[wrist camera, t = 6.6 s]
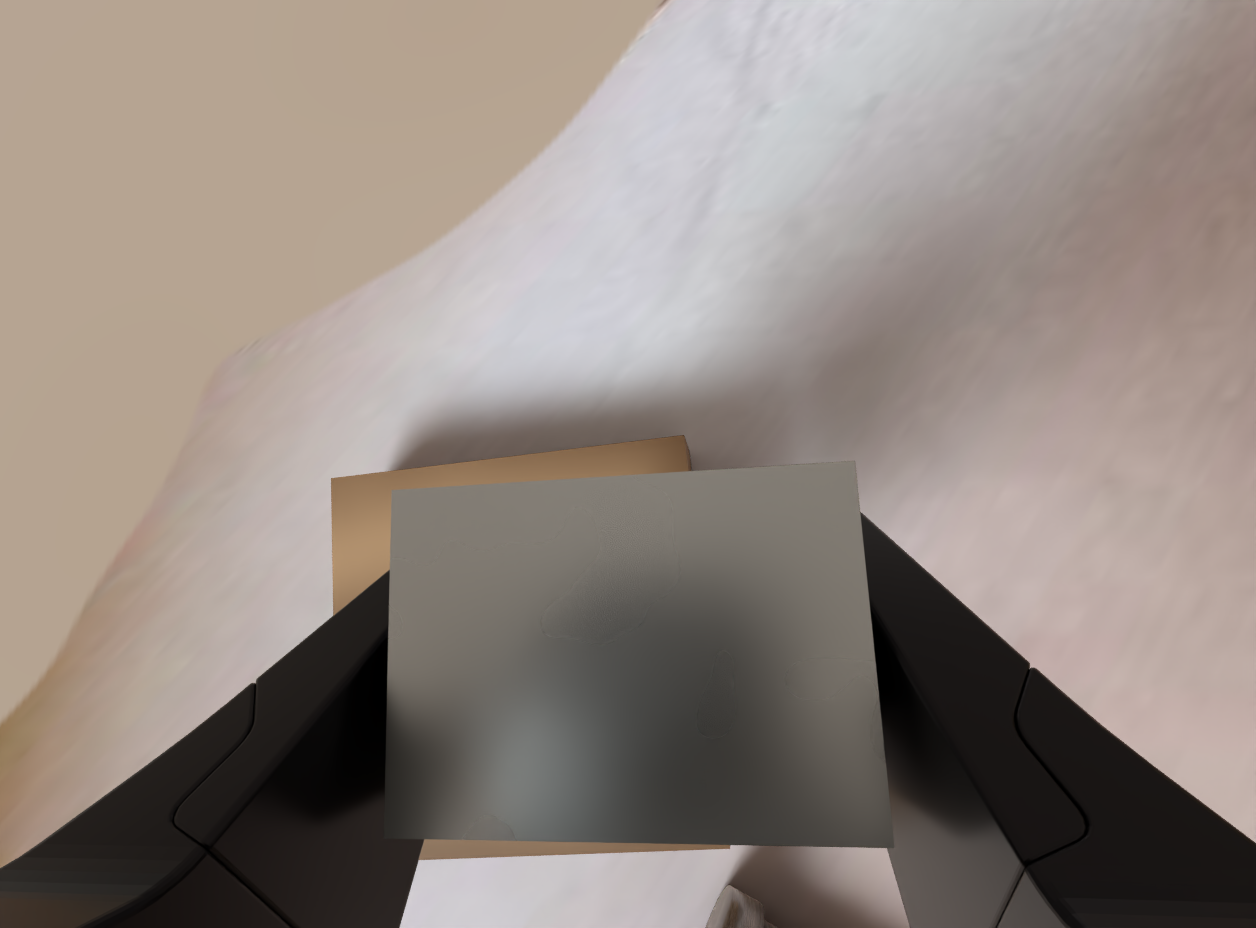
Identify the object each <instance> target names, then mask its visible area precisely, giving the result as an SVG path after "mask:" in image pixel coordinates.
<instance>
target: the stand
mask: <svg viewBox="0 0 1256 928" xmlns="http://www.w3.org/2000/svg"><path fill="white" fill-rule="evenodd" d="M685 471H691V462H690V454H689V449H688V446H687V443H686V440H685V437H684V435H681V436H672V437H664V438H656V439H648V440H640V441H632V442H624V443H615V444H607V445H599V446H591V447H583V448H575V449H567V450H558V451H550V452H542V453H534V454H526V455H518V456H510V457H501V458H493V459H485V460H477V461H469V462H461V463H453V464H444V465H436V466H428V467H420V468H412V469H404V470H395V471H387V472H379V473H371V474H363V475H355V476H347V477H338V478H331V502H332V561H333V616H334V615H335V614H336V613H337V612H339V611H340V610H341V609H342V608H343V607H345V606H346V605H347V604H348V603H349V602H351V601H352V600H353V599H354V598H355V597H357V596H358V595H359V594H360V593H362V592H363V591H364V590H365V589H366V588H368V587H369V586H370V585H371V584H372V583H374V582H375V581H376V580H377V579H379V578H380V577H381V576H382V575H383V574H385V573H386V572H387V571H388V570H389V569H390V538H391V493H392V490H400V489H416V488H432V487H447V486H463V485H479V484H495V483H511V482H527V481H543V480H558V479H574V478H590V477H606V476H622V475H638V474H654V473H669V472H685ZM705 849H730V845H706V844H652V843H599V842H545V841H492V840H438V839H424V843H423V846H422V850H421V853H420V857H419V860H431V859H459V858H486V857H513V856H541V855H568V854H595V853H623V852H650V851H677V850H705Z"/></svg>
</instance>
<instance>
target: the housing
mask: <svg viewBox="0 0 1256 928" xmlns="http://www.w3.org/2000/svg"><path fill="white" fill-rule="evenodd" d="M384 838H385V839H438V840H492V841H545V842H599V843H652V844H706V845H759V846H813V847H866V848H895V847H894V838H893V828H892V818H891V808H890V799H889V789H888V779H887V769H886V759H885V750H884V740H883V730H882V720H881V711H880V701H879V691H878V681H877V672H876V662H875V652H874V642H873V632H872V623H871V613H870V603H869V593H868V584H867V574H866V564H865V554H864V545H863V535H862V525H861V515H860V505H859V496H858V486H857V476H856V466H855V461H844V462H828V463H812V464H796V465H780V466H765V467H749V468H733V469H717V470H701V471H685V472H669V473H654V474H638V475H622V476H606V477H590V478H574V479H558V480H543V481H527V482H511V483H495V484H479V485H463V486H447V487H432V488H416V489H400V490H392V493H391V538H390V583H389V628H388V673H387V718H386V763H385V808H384Z"/></svg>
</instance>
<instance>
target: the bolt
mask: <svg viewBox="0 0 1256 928" xmlns="http://www.w3.org/2000/svg"><path fill="white" fill-rule="evenodd" d="M705 928H778V927H776V926H774V925H773V924H771V923H769V922H767V921H765V920H764V908H763V905H762V903H761V902H759V901H757V900H755V899H754V898H752V897H750V896H748V895H746V894H745V893H743V892H741V891H739V890H738V889H736V888H734V887H732V886H730V885H728V886H727V887H726V888H725V889H724V890H723V892H722V893H721V895H720V896H719V898H718V900H717V902H716V904H715V906H714V908H713V910H712V913H711V915H710V917H709V920H708V922H707V925H706V927H705Z"/></svg>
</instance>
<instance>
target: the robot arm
mask: <svg viewBox="0 0 1256 928" xmlns="http://www.w3.org/2000/svg"><path fill="white" fill-rule="evenodd" d="M860 515H861V525H862V535H863V545H864V554H865V564H866V574H867V584H868V593H869V603H870V613H871V623H872V632H873V642H874V652H875V662H876V672H877V681H878V691H879V701H880V711H881V720H882V730H883V740H884V750H885V759H886V769H887V779H888V789H889V799H890V808H891V818H892V828H893V838H894V847H895V848H887V850H888V853H889V857H890V860H891V863H892V867H893V870H894V874H895V877H896V881H897V884H898V888H899V891H900V894H901V898H902V901H903V905H904V908H905V912H906V915H907V918H908V922H909V925H910V928H1256V843H1255V842H1254V841H1252V840H1251V839H1250V838H1248V837H1247V836H1246V835H1244V834H1243V833H1242V832H1240V831H1239V830H1238V829H1236V828H1235V827H1234V826H1233V825H1231V824H1230V823H1229V822H1227V821H1226V820H1225V819H1223V818H1222V817H1221V816H1219V815H1218V814H1217V813H1215V812H1214V811H1213V810H1211V809H1210V808H1209V807H1207V806H1206V805H1205V804H1203V803H1202V802H1201V801H1199V800H1198V799H1197V798H1195V797H1194V796H1193V795H1191V794H1190V793H1189V792H1187V791H1186V790H1185V789H1183V788H1182V787H1181V786H1180V785H1178V784H1177V783H1176V782H1174V781H1173V780H1172V779H1170V778H1169V777H1168V776H1166V775H1165V774H1164V773H1162V772H1161V771H1160V770H1158V769H1157V768H1156V767H1154V766H1153V765H1152V764H1151V763H1149V762H1148V761H1147V760H1145V759H1144V758H1143V757H1142V756H1140V755H1139V754H1138V753H1136V752H1135V751H1134V750H1133V749H1131V748H1130V747H1129V746H1128V745H1126V744H1125V743H1124V742H1122V741H1121V740H1120V739H1119V738H1117V737H1116V736H1115V735H1114V734H1112V733H1111V732H1110V731H1108V730H1107V729H1106V728H1105V727H1103V726H1102V725H1101V724H1100V723H1099V722H1097V721H1096V720H1095V719H1094V718H1093V717H1092V716H1090V715H1089V714H1088V713H1087V712H1086V711H1085V710H1083V709H1082V708H1081V707H1080V706H1079V705H1077V704H1076V703H1075V702H1074V701H1073V700H1072V699H1070V698H1069V697H1068V696H1067V695H1066V694H1065V693H1063V692H1062V691H1061V690H1060V689H1059V688H1058V687H1057V686H1055V685H1054V684H1053V683H1052V682H1051V681H1050V680H1049V679H1048V678H1046V677H1045V676H1044V675H1043V674H1042V673H1041V672H1040V671H1039V670H1037V669H1036V668H1030V663H1029V662H1028V661H1027V660H1026V659H1025V658H1024V657H1023V656H1021V655H1020V654H1019V653H1018V652H1017V651H1016V650H1015V649H1014V648H1012V647H1011V646H1010V645H1009V644H1008V643H1007V642H1006V641H1005V640H1004V639H1002V638H1001V637H1000V636H999V635H998V634H997V633H996V632H995V631H993V630H992V629H991V628H990V627H989V626H988V625H987V624H986V623H984V622H983V621H982V620H981V619H980V618H979V617H978V616H977V615H976V614H974V613H973V612H972V611H971V610H970V609H969V608H968V607H967V606H965V605H964V604H963V603H962V602H961V601H960V600H959V599H958V598H956V597H955V596H954V595H953V594H952V593H951V592H950V591H949V590H948V589H946V588H945V587H944V586H943V585H942V584H941V583H940V582H939V581H937V580H936V579H935V578H934V577H933V576H932V575H931V574H930V573H928V572H927V571H926V570H925V569H924V568H923V567H922V566H921V565H920V564H918V563H917V562H916V561H915V560H914V559H913V558H912V557H911V556H909V555H908V554H907V553H906V552H905V551H904V550H903V549H902V548H900V547H899V546H898V545H897V544H896V543H895V542H894V541H893V540H892V539H890V538H889V537H888V536H887V535H886V534H885V533H884V532H883V531H881V530H880V529H879V528H878V527H877V526H876V525H875V524H874V523H872V522H871V521H870V520H869V519H868V518H867V517H866V516H865V515H864V514H862V513H861V512H860ZM389 583H390V569H389V570H388V571H387V572H386V573H385V574H383V575H382V576H381V577H380V578H379V579H377V580H376V581H375V582H374V583H372V584H371V585H370V586H369V587H368V588H366V589H365V590H364V591H363V592H362V593H360V594H359V595H358V596H357V597H355V598H354V599H353V600H352V601H351V602H349V603H348V604H347V605H346V606H345V607H343V608H342V609H341V610H340V611H339V612H337V613H336V614H335V615H334V616H332V617H331V618H330V619H329V620H328V621H326V622H325V623H324V624H323V625H322V626H320V627H319V628H318V629H317V630H316V631H314V632H313V633H312V634H311V635H309V636H308V637H307V638H306V639H305V640H303V641H302V642H301V643H300V644H299V645H297V646H296V647H295V648H294V649H292V650H291V651H290V652H289V653H288V654H286V655H285V656H284V657H283V658H282V659H280V660H279V661H278V662H277V663H275V664H274V665H273V666H272V667H271V668H269V669H268V670H267V671H266V672H265V673H263V674H262V675H261V676H260V677H258V678H257V680H256V683H251V684H250V685H249V686H247V687H246V688H245V689H244V690H243V691H241V692H240V693H239V694H238V695H236V696H235V697H234V698H233V699H232V700H230V701H229V702H228V703H227V704H225V705H224V706H223V707H222V708H220V709H219V710H218V711H217V712H215V713H214V714H213V715H212V716H210V717H209V718H208V719H207V720H205V721H204V722H203V723H202V724H200V725H199V726H198V727H197V728H195V729H194V730H193V731H192V732H190V733H189V734H188V735H186V736H185V737H184V738H182V739H181V740H180V741H178V742H177V743H176V744H174V745H173V746H172V747H170V748H169V749H168V750H166V751H165V752H164V753H162V754H161V755H160V756H158V757H157V758H156V759H154V760H153V761H152V762H150V763H149V764H148V765H146V766H145V767H144V768H142V769H141V770H140V771H138V772H137V773H135V774H134V775H133V776H131V777H130V778H129V779H127V780H126V781H124V782H123V783H122V784H120V785H119V786H118V787H116V788H115V789H113V790H112V791H111V792H109V793H108V794H107V795H105V796H104V797H102V798H101V799H100V800H98V801H97V802H96V803H94V804H93V805H91V806H90V807H89V808H87V809H86V810H85V811H83V812H82V813H80V814H79V815H78V816H76V817H75V818H74V819H72V820H71V821H69V822H68V823H67V824H65V825H64V826H63V827H61V828H60V829H59V830H57V831H56V832H54V833H53V834H52V835H50V836H49V837H48V838H46V839H45V840H43V841H42V842H41V843H39V844H38V845H36V846H35V847H33V848H32V849H30V850H29V851H28V852H26V853H25V854H23V855H22V856H20V857H19V858H17V859H15V860H14V861H12V862H10V863H8V864H7V865H5V866H3V867H2V868H0V928H399V927H400V924H401V920H402V917H403V913H404V910H405V906H406V903H407V899H408V896H409V892H410V888H411V885H412V881H413V878H414V874H415V871H416V867H417V864H418V860H419V857H420V853H421V850H422V846H423V843H424V839H385V838H384V808H385V763H386V718H387V673H388V628H389ZM1029 668H1030V669H1029Z"/></svg>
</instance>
